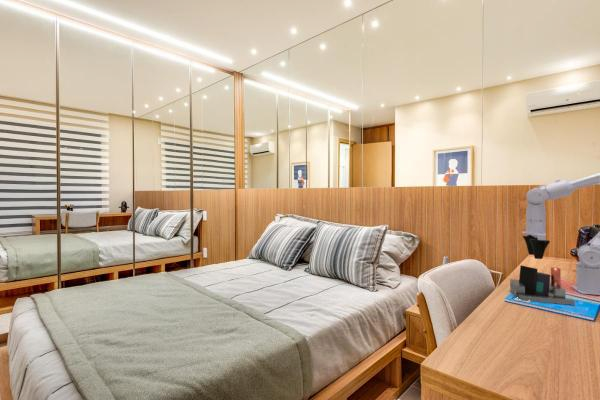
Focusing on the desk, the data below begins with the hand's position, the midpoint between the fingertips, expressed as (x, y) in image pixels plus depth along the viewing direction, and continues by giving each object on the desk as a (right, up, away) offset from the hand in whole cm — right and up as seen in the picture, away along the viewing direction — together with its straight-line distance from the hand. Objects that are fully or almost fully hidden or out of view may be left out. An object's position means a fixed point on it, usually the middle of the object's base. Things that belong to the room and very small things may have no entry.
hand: (535, 256), depth 113 cm
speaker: (-10, -12, -12) cm, 20 cm away
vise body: (-9, -11, -13) cm, 19 cm away
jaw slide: (-5, -11, -15) cm, 19 cm away
